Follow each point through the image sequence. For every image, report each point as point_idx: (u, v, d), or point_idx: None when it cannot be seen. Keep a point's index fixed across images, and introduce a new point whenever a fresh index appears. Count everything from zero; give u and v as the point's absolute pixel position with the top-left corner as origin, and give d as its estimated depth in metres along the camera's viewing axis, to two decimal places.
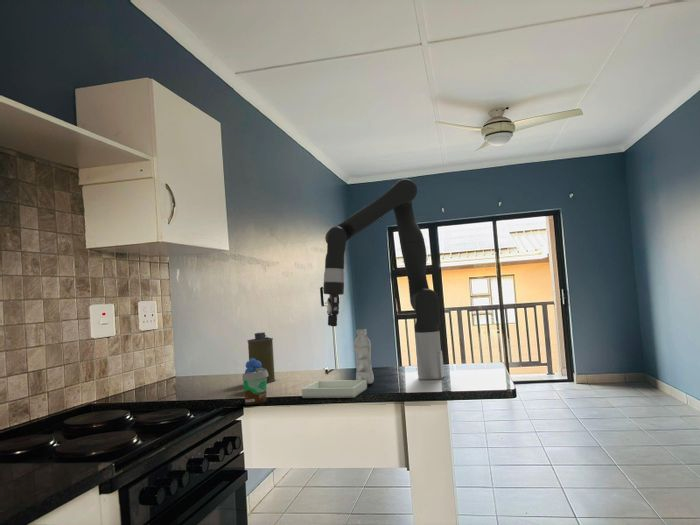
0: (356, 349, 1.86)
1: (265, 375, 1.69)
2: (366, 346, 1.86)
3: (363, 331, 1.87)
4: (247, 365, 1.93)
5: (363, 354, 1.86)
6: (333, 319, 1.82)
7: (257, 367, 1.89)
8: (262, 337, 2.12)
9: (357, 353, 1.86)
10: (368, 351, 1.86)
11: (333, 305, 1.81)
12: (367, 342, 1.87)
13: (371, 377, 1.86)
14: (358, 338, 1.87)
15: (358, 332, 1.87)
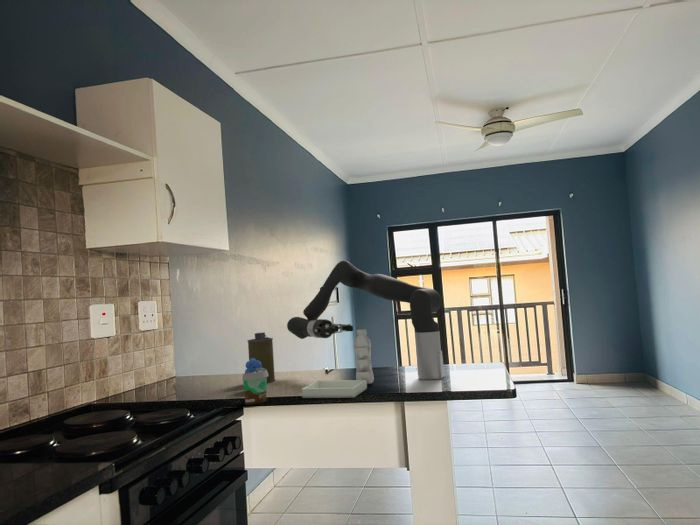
0: (356, 349, 1.86)
1: (265, 375, 1.69)
2: (366, 346, 1.86)
3: (363, 331, 1.87)
4: (247, 365, 1.93)
5: (363, 354, 1.86)
6: (328, 331, 1.96)
7: (257, 367, 1.89)
8: (262, 337, 2.12)
9: (357, 353, 1.86)
10: (368, 351, 1.86)
11: (317, 332, 1.99)
12: (367, 342, 1.87)
13: (371, 377, 1.86)
14: (358, 338, 1.87)
15: (358, 332, 1.87)
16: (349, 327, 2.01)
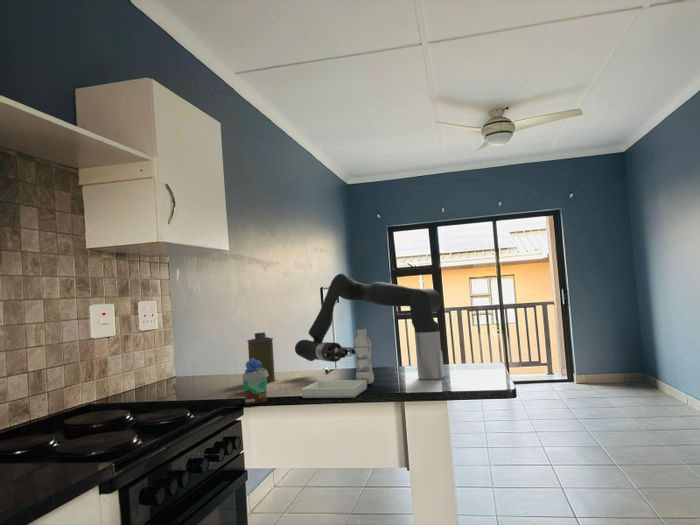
0: (356, 349, 1.86)
1: (265, 375, 1.69)
2: (366, 346, 1.86)
3: (363, 331, 1.87)
4: (247, 365, 1.93)
5: (363, 354, 1.86)
6: (338, 355, 1.92)
7: (257, 367, 1.89)
8: (262, 337, 2.12)
9: (357, 353, 1.86)
10: (368, 351, 1.86)
11: (327, 356, 1.95)
12: (367, 342, 1.87)
13: (371, 377, 1.86)
14: (358, 338, 1.87)
15: (358, 332, 1.87)
16: None
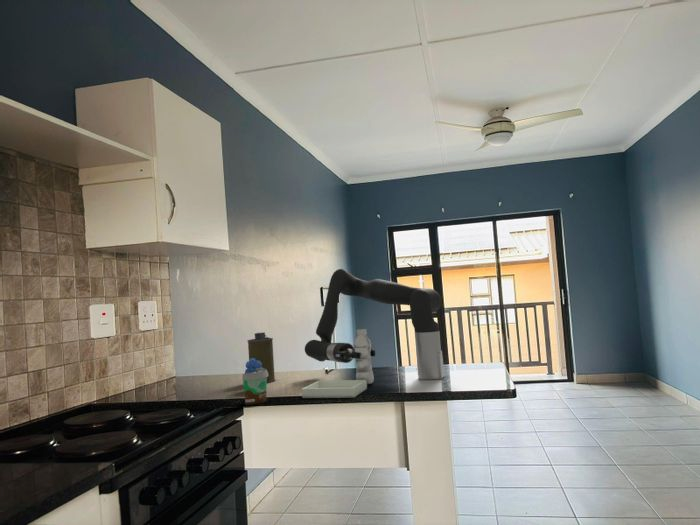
0: (356, 349, 1.86)
1: (265, 375, 1.69)
2: (366, 346, 1.86)
3: (363, 331, 1.87)
4: (247, 365, 1.93)
5: (363, 353, 1.86)
6: (353, 356, 1.86)
7: (257, 367, 1.89)
8: (262, 337, 2.12)
9: None
10: (368, 351, 1.86)
11: (341, 357, 1.88)
12: (367, 342, 1.87)
13: (371, 377, 1.86)
14: (358, 338, 1.87)
15: (358, 332, 1.87)
16: (371, 352, 1.89)
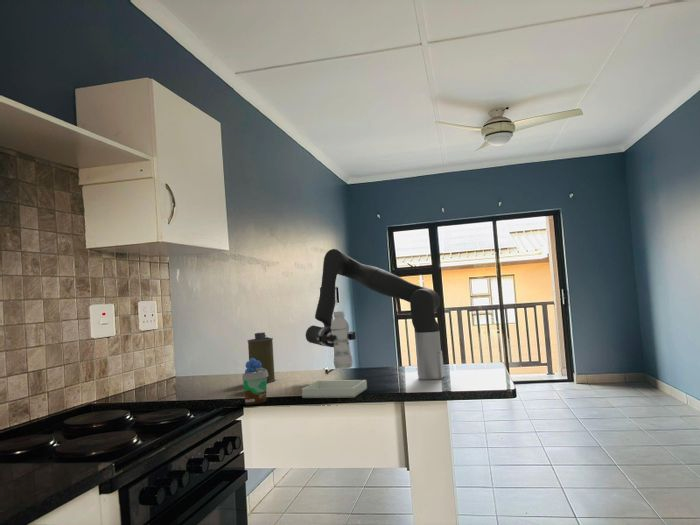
0: (332, 332, 1.78)
1: (265, 375, 1.69)
2: (341, 329, 1.77)
3: (339, 313, 1.78)
4: (247, 365, 1.93)
5: (338, 336, 1.77)
6: (328, 339, 1.78)
7: (257, 367, 1.89)
8: (262, 337, 2.12)
9: None
10: (344, 334, 1.77)
11: (319, 340, 1.82)
12: (343, 324, 1.77)
13: (347, 361, 1.76)
14: (334, 320, 1.79)
15: (334, 314, 1.79)
16: (350, 335, 1.79)
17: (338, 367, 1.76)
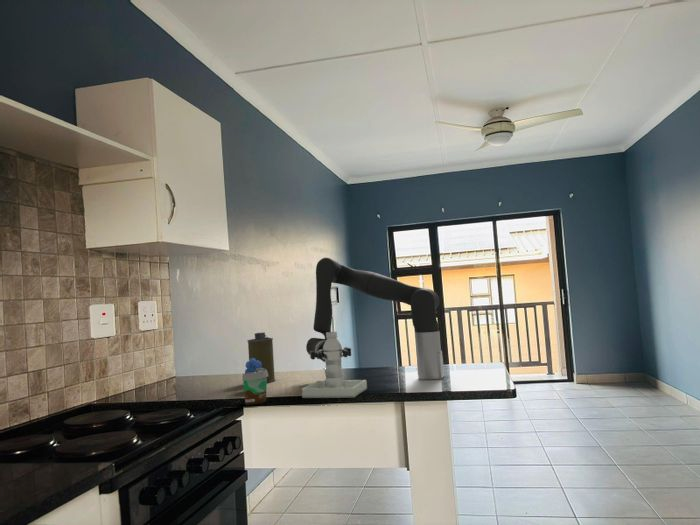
0: (324, 353, 1.75)
1: (265, 375, 1.69)
2: (332, 350, 1.73)
3: (331, 334, 1.74)
4: (247, 365, 1.93)
5: (329, 358, 1.73)
6: (317, 356, 1.75)
7: (257, 367, 1.89)
8: (262, 337, 2.12)
9: (325, 357, 1.75)
10: (335, 356, 1.73)
11: None
12: (334, 346, 1.73)
13: (338, 384, 1.72)
14: (326, 341, 1.75)
15: (326, 335, 1.75)
16: (344, 352, 1.76)
17: None
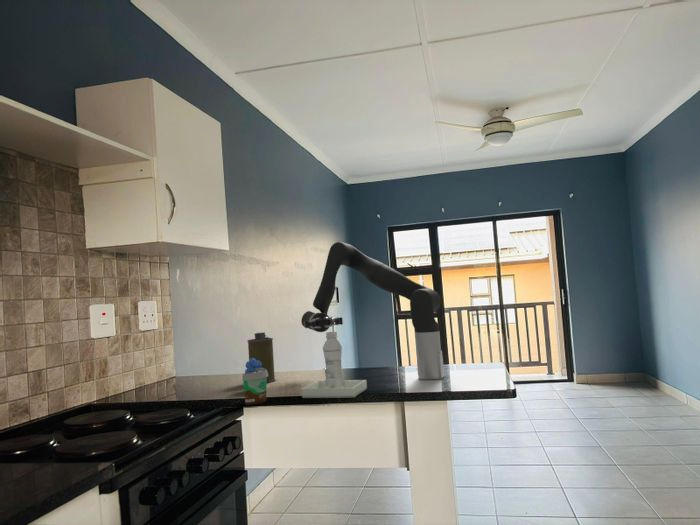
0: None
1: (265, 375, 1.69)
2: (332, 350, 1.73)
3: (331, 334, 1.74)
4: (247, 365, 1.93)
5: (329, 358, 1.73)
6: (310, 325, 1.88)
7: (257, 367, 1.89)
8: (262, 337, 2.12)
9: (325, 357, 1.75)
10: (335, 356, 1.73)
11: None
12: (334, 346, 1.73)
13: (338, 384, 1.72)
14: (326, 341, 1.75)
15: (326, 335, 1.75)
16: (335, 320, 1.89)
17: None
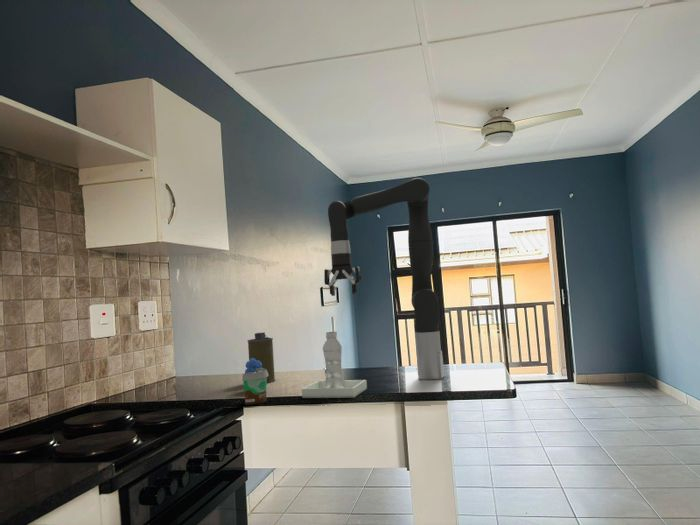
0: None
1: (265, 375, 1.69)
2: (332, 350, 1.73)
3: (331, 334, 1.74)
4: (247, 365, 1.93)
5: (329, 358, 1.73)
6: None
7: (257, 367, 1.89)
8: (262, 337, 2.12)
9: (325, 357, 1.75)
10: (335, 356, 1.73)
11: None
12: (334, 346, 1.73)
13: (338, 384, 1.72)
14: (326, 341, 1.75)
15: (326, 335, 1.75)
16: None
17: None
